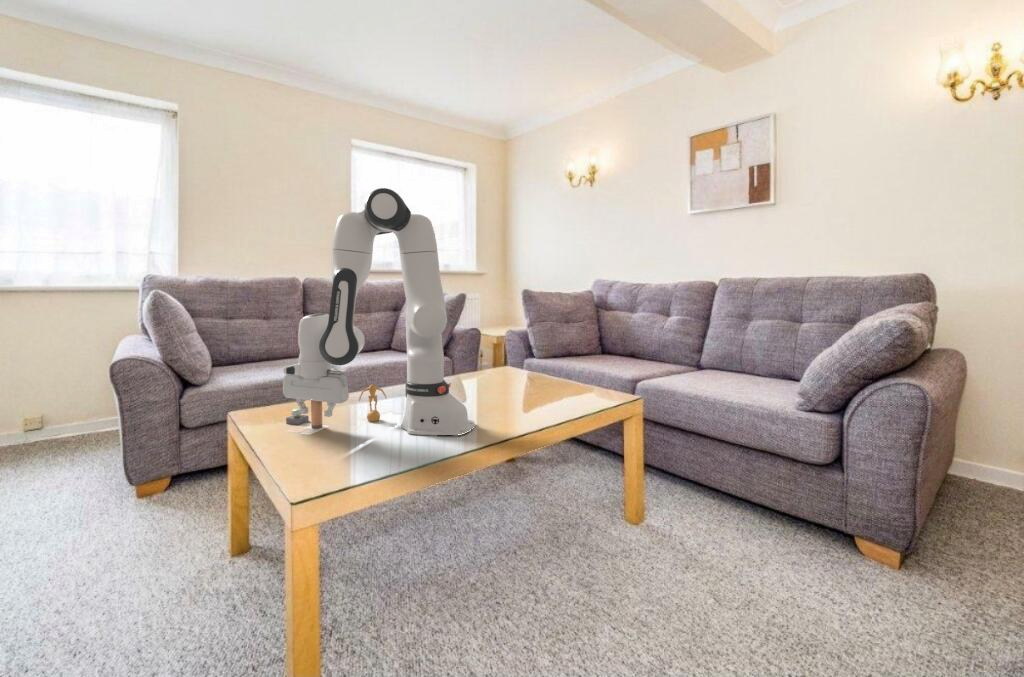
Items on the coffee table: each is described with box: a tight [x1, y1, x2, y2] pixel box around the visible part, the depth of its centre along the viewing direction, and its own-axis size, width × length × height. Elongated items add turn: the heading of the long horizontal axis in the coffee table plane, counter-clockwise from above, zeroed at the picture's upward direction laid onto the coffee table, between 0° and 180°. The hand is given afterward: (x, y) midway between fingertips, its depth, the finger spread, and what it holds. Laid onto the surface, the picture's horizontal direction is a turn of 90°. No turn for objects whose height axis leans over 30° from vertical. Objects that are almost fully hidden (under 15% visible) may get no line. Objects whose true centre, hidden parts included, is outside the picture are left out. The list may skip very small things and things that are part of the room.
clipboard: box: [283, 414, 330, 436], centre depth 137 cm, size 14×12×2 cm
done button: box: [290, 407, 302, 418], centre depth 142 cm, size 3×3×3 cm
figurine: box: [358, 383, 387, 423], centre depth 146 cm, size 8×6×12 cm
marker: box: [310, 400, 324, 429], centre depth 137 cm, size 3×3×9 cm
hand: (316, 414), depth 137 cm, fingers open, 7 cm apart
